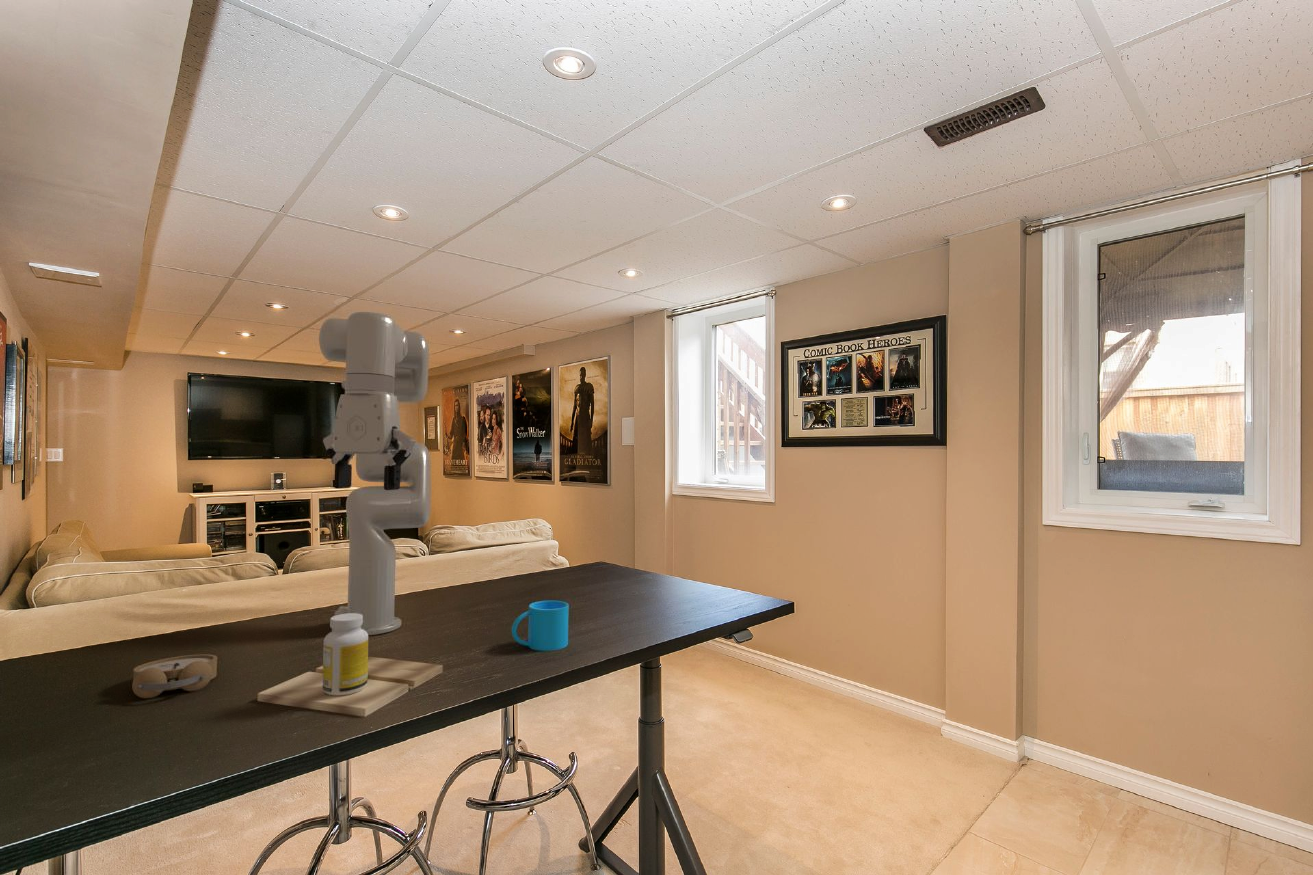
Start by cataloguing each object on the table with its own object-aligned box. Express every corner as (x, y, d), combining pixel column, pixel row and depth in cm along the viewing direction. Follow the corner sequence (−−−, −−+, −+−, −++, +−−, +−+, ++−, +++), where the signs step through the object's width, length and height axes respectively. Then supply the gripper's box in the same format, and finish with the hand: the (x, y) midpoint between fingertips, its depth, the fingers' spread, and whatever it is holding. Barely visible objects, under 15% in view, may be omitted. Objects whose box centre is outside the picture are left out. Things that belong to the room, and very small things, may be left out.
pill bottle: (376, 684, 100) (378, 613, 101) (344, 699, 94) (346, 624, 95) (345, 679, 103) (347, 609, 103) (312, 693, 96) (314, 619, 97)
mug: (558, 636, 133) (559, 598, 133) (574, 646, 126) (575, 607, 126) (504, 645, 126) (505, 605, 127) (518, 656, 119) (519, 614, 120)
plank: (257, 700, 96) (257, 693, 96) (308, 678, 106) (308, 671, 106) (365, 716, 91) (365, 708, 91) (408, 691, 101) (408, 684, 101)
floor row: (311, 677, 107) (311, 670, 107) (349, 660, 115) (349, 654, 115) (410, 690, 102) (410, 682, 102) (442, 671, 110) (442, 665, 110)
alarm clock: (218, 650, 112) (215, 659, 99) (217, 679, 111) (214, 691, 99) (138, 661, 105) (125, 672, 93) (136, 691, 104) (122, 706, 92)
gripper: (309, 385, 102) (306, 488, 101) (399, 384, 97) (396, 491, 97) (343, 390, 109) (340, 486, 108) (428, 389, 104) (425, 489, 104)
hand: (367, 488), depth 103 cm, fingers open, 9 cm apart
